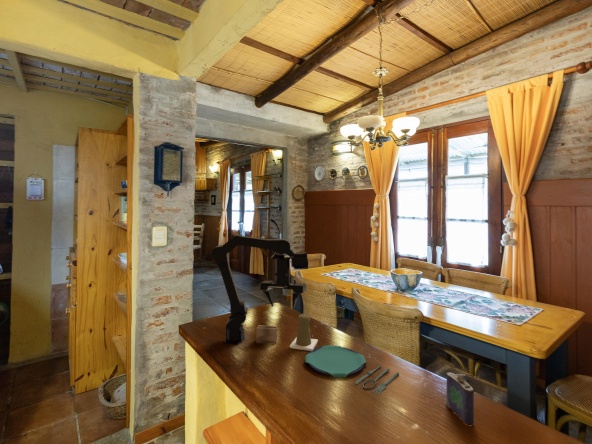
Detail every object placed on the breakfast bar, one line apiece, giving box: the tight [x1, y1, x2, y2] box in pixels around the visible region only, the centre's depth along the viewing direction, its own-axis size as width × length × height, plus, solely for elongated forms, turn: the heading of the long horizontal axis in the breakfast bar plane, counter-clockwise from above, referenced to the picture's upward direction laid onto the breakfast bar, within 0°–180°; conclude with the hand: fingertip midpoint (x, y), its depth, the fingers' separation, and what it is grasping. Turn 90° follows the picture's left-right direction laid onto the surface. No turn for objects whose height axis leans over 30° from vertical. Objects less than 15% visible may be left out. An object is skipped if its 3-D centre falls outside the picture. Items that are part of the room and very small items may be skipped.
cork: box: [296, 313, 312, 346], centre depth 122 cm, size 6×6×11 cm
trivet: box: [289, 336, 319, 352], centre depth 122 cm, size 9×9×1 cm
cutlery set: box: [304, 345, 400, 395], centre depth 104 cm, size 20×30×2 cm, turn 45°
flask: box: [445, 372, 475, 426], centre depth 80 cm, size 9×3×11 cm, turn 8°
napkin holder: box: [255, 324, 278, 345], centre depth 124 cm, size 8×3×6 cm, turn 83°
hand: (282, 307), depth 127 cm, fingers open, 9 cm apart
